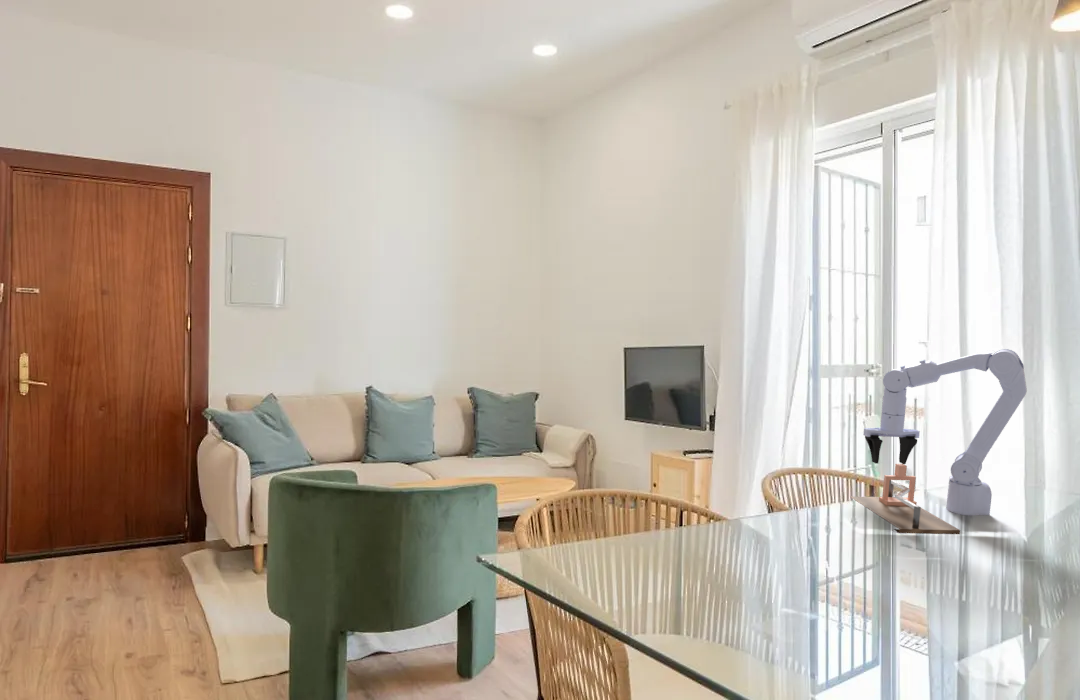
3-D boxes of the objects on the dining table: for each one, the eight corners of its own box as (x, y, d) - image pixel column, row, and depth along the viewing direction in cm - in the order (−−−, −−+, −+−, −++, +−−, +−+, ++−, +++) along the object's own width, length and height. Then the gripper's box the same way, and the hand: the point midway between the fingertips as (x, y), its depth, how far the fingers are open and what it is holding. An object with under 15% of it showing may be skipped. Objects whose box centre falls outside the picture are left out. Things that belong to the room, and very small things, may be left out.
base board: (903, 501, 203) (903, 497, 203) (959, 534, 178) (960, 530, 178) (849, 500, 202) (850, 496, 202) (898, 533, 177) (899, 529, 177)
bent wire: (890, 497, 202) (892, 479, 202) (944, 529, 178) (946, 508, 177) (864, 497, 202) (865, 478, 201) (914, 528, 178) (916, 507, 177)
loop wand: (907, 501, 200) (911, 463, 199) (916, 505, 196) (920, 467, 195) (878, 500, 199) (882, 462, 198) (886, 505, 195) (890, 466, 194)
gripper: (911, 411, 206) (906, 459, 207) (859, 410, 205) (855, 458, 206) (925, 416, 199) (920, 466, 200) (872, 415, 198) (868, 465, 199)
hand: (888, 462), depth 203 cm, fingers open, 7 cm apart
